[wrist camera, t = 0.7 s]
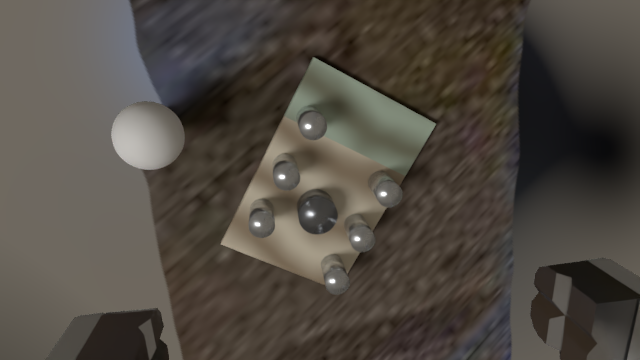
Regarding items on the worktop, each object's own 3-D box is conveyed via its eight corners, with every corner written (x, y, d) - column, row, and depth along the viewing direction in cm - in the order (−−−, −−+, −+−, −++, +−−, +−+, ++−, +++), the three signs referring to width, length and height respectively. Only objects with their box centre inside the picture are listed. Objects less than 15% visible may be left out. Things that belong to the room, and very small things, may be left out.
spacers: (303, 101, 46) (307, 107, 42) (408, 154, 50) (421, 165, 46) (234, 236, 50) (232, 254, 46) (336, 276, 54) (342, 297, 50)
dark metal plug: (307, 183, 49) (309, 192, 47) (339, 198, 51) (344, 207, 48) (290, 214, 50) (291, 225, 48) (322, 228, 52) (326, 240, 49)
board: (313, 56, 46) (313, 57, 45) (433, 122, 50) (436, 123, 49) (221, 241, 51) (220, 244, 50) (336, 286, 55) (337, 290, 55)
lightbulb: (193, 89, 45) (173, 106, 35) (199, 145, 47) (181, 176, 37) (133, 91, 45) (94, 108, 34) (142, 148, 47) (107, 180, 36)
